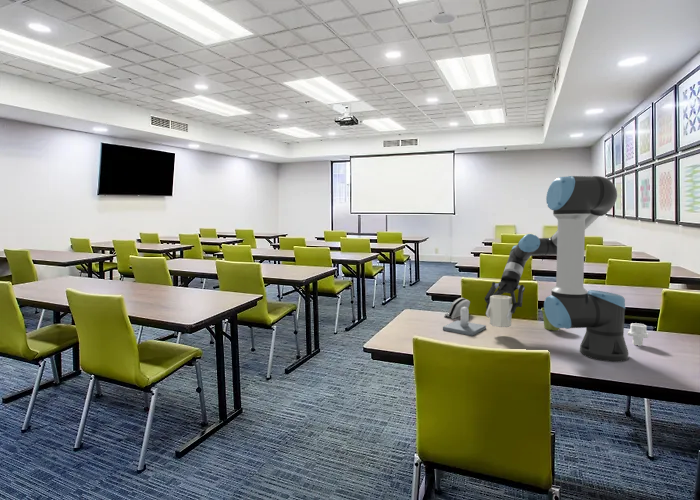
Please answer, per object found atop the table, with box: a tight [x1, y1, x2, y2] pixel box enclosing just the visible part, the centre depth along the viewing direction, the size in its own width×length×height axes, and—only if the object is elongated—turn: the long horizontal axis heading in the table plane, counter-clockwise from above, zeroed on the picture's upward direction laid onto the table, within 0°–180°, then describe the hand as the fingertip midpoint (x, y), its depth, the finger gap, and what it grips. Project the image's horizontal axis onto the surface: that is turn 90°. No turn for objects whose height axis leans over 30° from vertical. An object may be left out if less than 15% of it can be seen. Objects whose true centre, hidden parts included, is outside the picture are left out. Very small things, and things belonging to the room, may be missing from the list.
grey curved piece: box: [443, 297, 471, 320], centre depth 211 cm, size 17×5×10 cm, turn 141°
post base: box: [442, 307, 487, 337], centre depth 186 cm, size 14×14×10 cm
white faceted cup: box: [489, 294, 513, 328], centre depth 176 cm, size 8×8×12 cm
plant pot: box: [540, 307, 561, 332], centre depth 185 cm, size 9×9×9 cm
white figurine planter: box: [627, 322, 649, 347], centre depth 162 cm, size 6×7×8 cm
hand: (497, 317), depth 173 cm, fingers closed on white faceted cup, 8 cm apart
